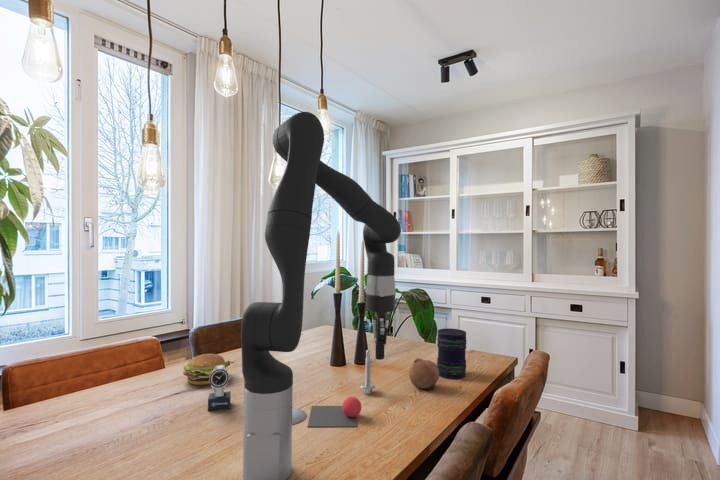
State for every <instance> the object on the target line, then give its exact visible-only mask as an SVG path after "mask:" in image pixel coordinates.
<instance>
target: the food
mask: <svg viewBox="0 0 720 480" xmlns="http://www.w3.org/2000/svg"><path fill="white" fill-rule="evenodd" d="M220 365H225V368H226V369H227V368H228V366H231V361H230V360H227V361H225V358H224V357H222V355H220V354H216V353H202V354H200V355H199V354H198V355H196V356H195V357H193V358H191V359H190V360H189V362H188V363H187V365H183V375H184V376H186V377H187V379H186V381H187V383H188V384H192V385H195V386H207V385H211V384H210V381H209V378H210V375H211V374H212V372H213V370H214V368H215V367H216V366H220Z"/></svg>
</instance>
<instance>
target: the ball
mask: <svg viewBox="0 0 720 480" xmlns="http://www.w3.org/2000/svg"><path fill="white" fill-rule="evenodd" d="M341 406H342V410H343V413H344V414H345V415H346V416H348V417H351V418H352V417H356V418H357V416H359V414H360V413H361V411H362V403H361V401H360V399H359V398H357V397H356V396H348V397H347V398H345V399H344V400H343V402H342V405H341Z"/></svg>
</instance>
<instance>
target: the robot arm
mask: <svg viewBox="0 0 720 480" xmlns="http://www.w3.org/2000/svg"><path fill="white" fill-rule="evenodd" d="M271 136H272V137H271V142H272V146H273V148H274V150H275V152H276V154H278V155H279V156H280V158H282V159H283V161H285V162H286V166H285V169H284V172H283V175H282V176H281V178H280V181H279V183H278V185H277V187H276V189H275V191H274V193H273V196H272V198H271V200H270V203H269V207H268V210H267V216H266V221H265V222H266V223H265V229H264V230H265V231H264V238H265V239H264V240H265V243H266V247H267V248H268V250H269V253H270V255H271V257H272V259H273V261H274V263H275V265H276V267H277V270H278V272H279V274H280V279H281V282H282V301H281V302H269V301H268V302H266V301H255V302H252V303H251V302H250V304H249V305H247V307H246V308H245V310H244V313H243V314H242V318H241V325H240V327H241V328H240V342H241V343H240V346H241V372H242V377H243V380H244V384H243V385H244V386H243V388H244V390H243V395H244V396H243V439H242V440H243V441H242V442H243V443H242V444H243V445H242V449H243V451H242V458H243V459H242V479H243V480H288V478H289V477H290V475H291V474H292V470H293V469H292V465H293V464H292V462H293V461H292V460H293V458H292V457H293V455H292V454H293V450H292V449H293V447H292V446H293V424H292V408H293V397H294V393H293V391H294V389H293V388H294V387H293V386H294V385H293V384H294V372H293V370H292V368H291V367H290V366H289V365H287V364H285V363H283V362H281V361H280V360H278V359H276V358H275V357H274V356H273V355H272V354H271V352H277V353H279V352H281V353H291V352H294V351H295V350H296V349H297V348H298V345H299V343H300V341H301V337H302V336H301V335H302V332H303V331H302V330H303V320H304V319H303V318H304V317H303V316H304V298H305V295H304V294H305V276H306V275H305V274H306V264H307V257H308V256H307V255H308V251H309V250H308V249H309V244H310V243H309V242H310V235H311V230H312V229H311V226H312V220H313V219H312V217H313V207H314V201H315V200H314V199H315V190H316V186H318V187H319V188H321V190H322V191H324V192H325V194H326V193H327V195H329V197H331V198H332V199H333V201H335V202H336V203H337V204H338V205H339V206H340V208H342V210H344V211H345V212H346V213H347V215H349V217H350V218H351V219H352V220H354V221H355V222H359V223H362V224H363V230H362V237H363V238H362V239H363V244H364V248H365V253H366V257H367V279H366V286H365V287H366V288H365V289H366V291H365V293H366V294H365V296H366V297H365V298H366V299H365V300H366V301H365V303H366V304H365V305H366V306H365V308H366V310H367V311H368V312H370V313H374V316H372V318H371V319H372V324H373V325H372V333H373V338H374V344H375V346H374V347H375V348H374V349H375V355H374V356H375V359H376V360H385V346H386V344H387V337H388V330H389V329H388V326H389V323H390V322H389V318H388V316H387V315H386V314H387V313H393V312H394V311H395V309H396V280H395V257H394V255H393V254H392V253H390V252H389V251H388V250H387V246H386V245H387V244H392V243H394V242H396V241H397V240H398V239H399V237H400V235H401V233H402V232H401V225H400V223H399V220H398V218H396V216H395V215H394V214H393V213H391V212H390V211H388V210H387V209H386V208H384V207H383V206H382V205H380V204H379V203H377V202H376V201H375V200H374V199H372V197H371V196H370V195H369V194H368V193H367V191H365V190H364V188H363V187H362V186H361V185H360V184H359V183H358V182H356V180H354V179H353V178H351V177H350V176H348V175H346V174H344V173H342V172H340V171H338V170H336V169H334V168H332V167H331V166H329V165H328V164H326V163H325V162H324V161H322V160H321V157H322V153H323V150H324V149H323V148H324V143H325V131H324V127H323V125H322V122H321V121H320V119H319V118H318V117H317V116H316V114H314V113H312V112H309V111H301V112H297V113H295V114H293V115H291V116H290V117H289V118H287V119H286V120H285V121H284V122H283V123H281V124H280V125H278V126H277V127H276V128H275V129H274V131H273V133H272V135H271Z"/></svg>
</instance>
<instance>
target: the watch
mask: <svg viewBox="0 0 720 480" xmlns="http://www.w3.org/2000/svg"><path fill="white" fill-rule="evenodd" d="M231 377H232V376H230V375H229V372H228V370H227V367H226V368H225V365H220V366H216V367H215V368H214V370H213V372H212V374H211V375H210V378H209V381H210V384H209V385H211V386H210V387H211V389H212V392H210V393H208V394H209V395H208V398H207V412H211V411H222V410H230V409H231V396H232V395H231V394H232V393H231V391H225V390H226V388H227V385H228V383H229V380H231Z"/></svg>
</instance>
